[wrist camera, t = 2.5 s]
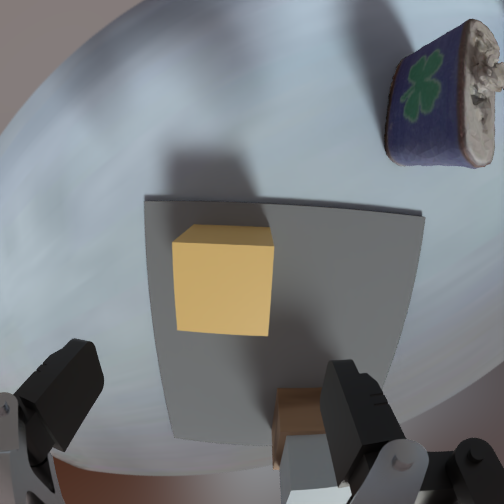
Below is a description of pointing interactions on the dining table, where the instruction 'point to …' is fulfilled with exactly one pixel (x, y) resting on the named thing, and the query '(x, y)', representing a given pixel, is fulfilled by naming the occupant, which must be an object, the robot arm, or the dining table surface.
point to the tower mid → (309, 472)
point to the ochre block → (223, 279)
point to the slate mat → (282, 311)
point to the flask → (446, 101)
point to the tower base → (295, 417)
